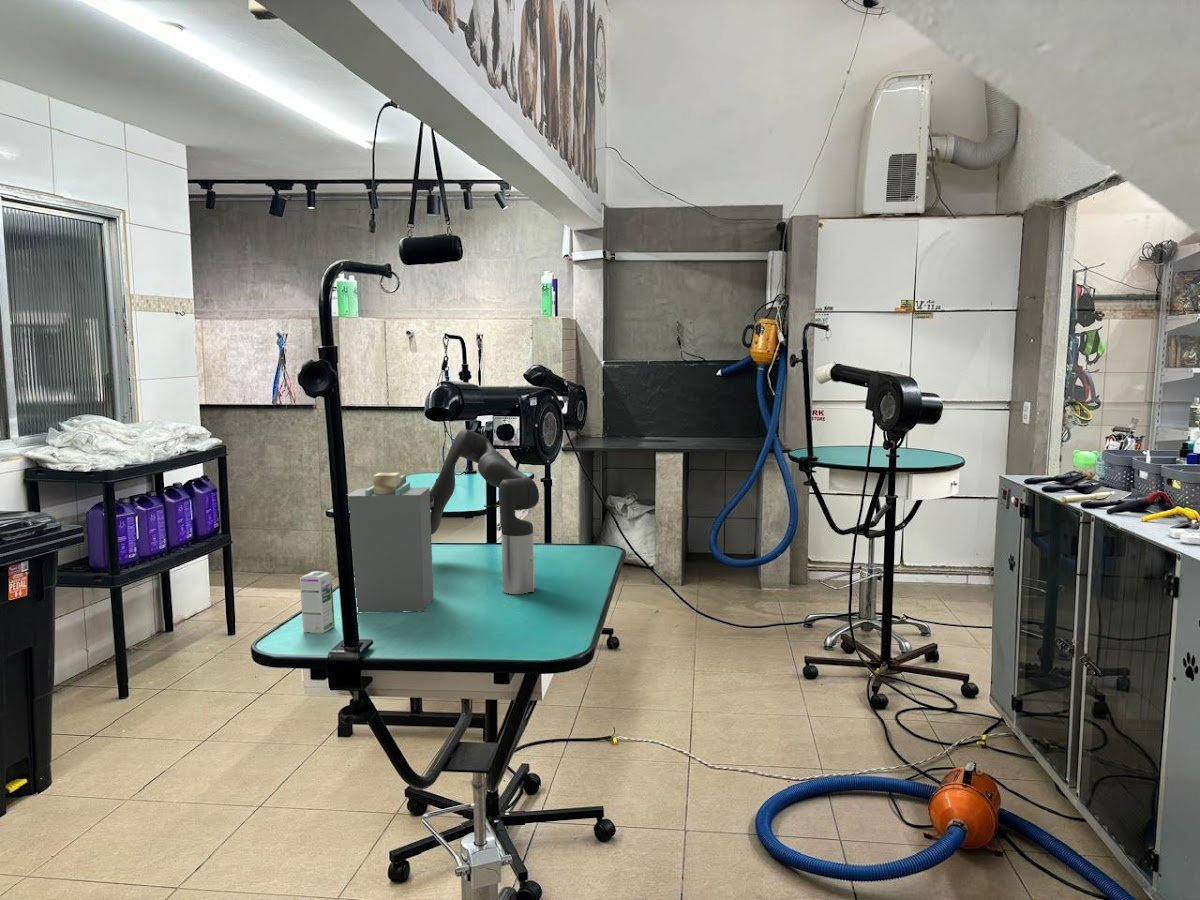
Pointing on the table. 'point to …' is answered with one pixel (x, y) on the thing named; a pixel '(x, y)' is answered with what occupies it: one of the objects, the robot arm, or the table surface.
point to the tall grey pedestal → (392, 549)
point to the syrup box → (317, 602)
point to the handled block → (387, 482)
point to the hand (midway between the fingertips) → (406, 494)
